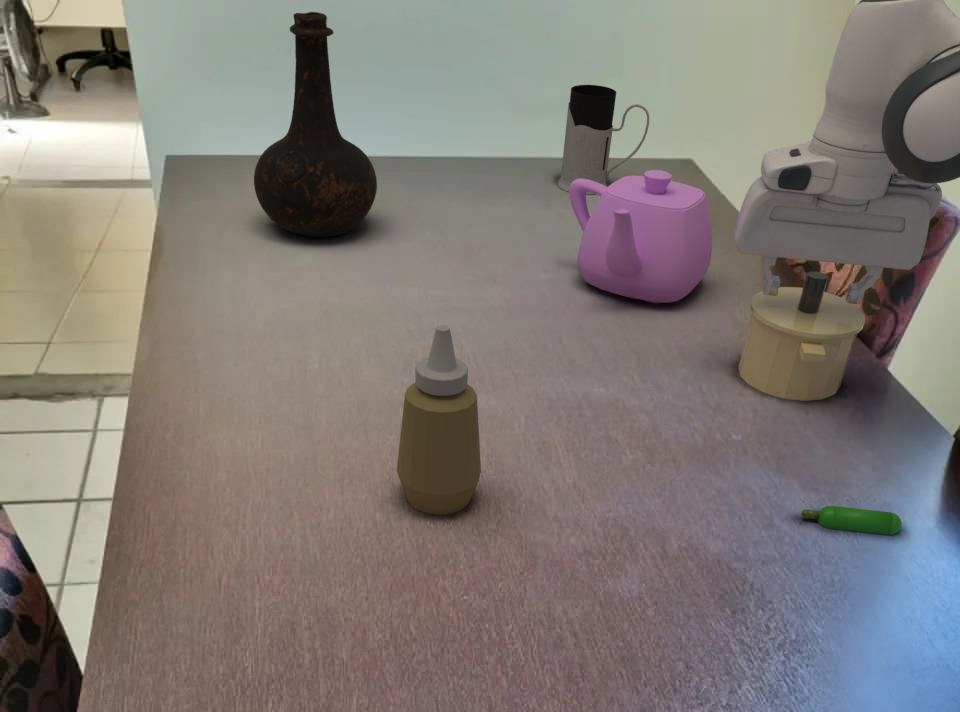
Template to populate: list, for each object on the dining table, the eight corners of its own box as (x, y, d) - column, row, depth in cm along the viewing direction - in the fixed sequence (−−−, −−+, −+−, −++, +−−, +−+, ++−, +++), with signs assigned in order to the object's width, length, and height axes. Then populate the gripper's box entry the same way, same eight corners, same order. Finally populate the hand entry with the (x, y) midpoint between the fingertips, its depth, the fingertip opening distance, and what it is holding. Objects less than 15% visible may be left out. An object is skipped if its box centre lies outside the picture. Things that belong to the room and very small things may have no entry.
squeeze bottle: (495, 503, 96) (509, 329, 84) (439, 537, 91) (445, 358, 79) (436, 471, 100) (440, 300, 88) (379, 502, 95) (375, 326, 83)
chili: (893, 528, 96) (902, 508, 95) (898, 543, 94) (907, 522, 93) (796, 518, 97) (802, 497, 95) (799, 532, 95) (805, 511, 93)
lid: (852, 302, 118) (865, 259, 114) (871, 349, 108) (887, 304, 105) (744, 291, 118) (754, 248, 115) (754, 337, 109) (765, 292, 105)
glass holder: (563, 175, 174) (572, 81, 164) (641, 186, 172) (656, 91, 161) (552, 190, 167) (562, 93, 157) (634, 202, 165) (649, 104, 155)
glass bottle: (236, 234, 145) (211, 14, 126) (297, 200, 157) (283, -5, 138) (342, 258, 140) (333, 33, 121) (396, 220, 153) (395, 11, 134)
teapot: (584, 248, 148) (597, 140, 138) (716, 280, 141) (740, 170, 131) (516, 297, 133) (525, 181, 123) (660, 337, 126) (682, 217, 116)
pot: (826, 354, 125) (846, 290, 119) (848, 422, 112) (872, 352, 106) (732, 345, 125) (748, 280, 120) (743, 411, 112) (761, 341, 107)
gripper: (941, 169, 104) (897, 295, 113) (749, 152, 105) (721, 278, 114) (955, 188, 99) (908, 318, 109) (754, 169, 100) (724, 300, 110)
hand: (810, 297), depth 112 cm, fingers open, 8 cm apart
